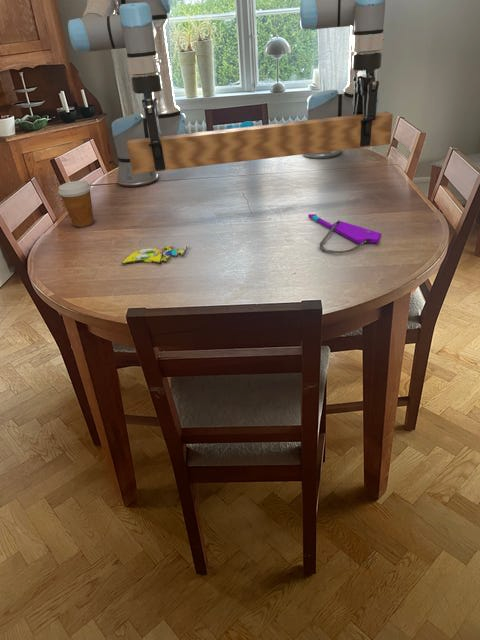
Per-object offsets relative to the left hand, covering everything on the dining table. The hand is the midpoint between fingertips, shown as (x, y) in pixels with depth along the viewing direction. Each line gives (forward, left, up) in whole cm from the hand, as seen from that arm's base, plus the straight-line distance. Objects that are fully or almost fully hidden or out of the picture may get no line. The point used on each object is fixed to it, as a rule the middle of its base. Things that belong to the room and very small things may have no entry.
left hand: (160, 166), depth 136 cm
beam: (+9, +28, -1) cm, 29 cm away
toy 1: (+20, -11, -17) cm, 29 cm away
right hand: (+18, +56, 0) cm, 59 cm away
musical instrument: (+37, +33, -17) cm, 53 cm away
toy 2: (-66, +47, -17) cm, 83 cm away
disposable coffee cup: (-17, -23, -17) cm, 33 cm away
